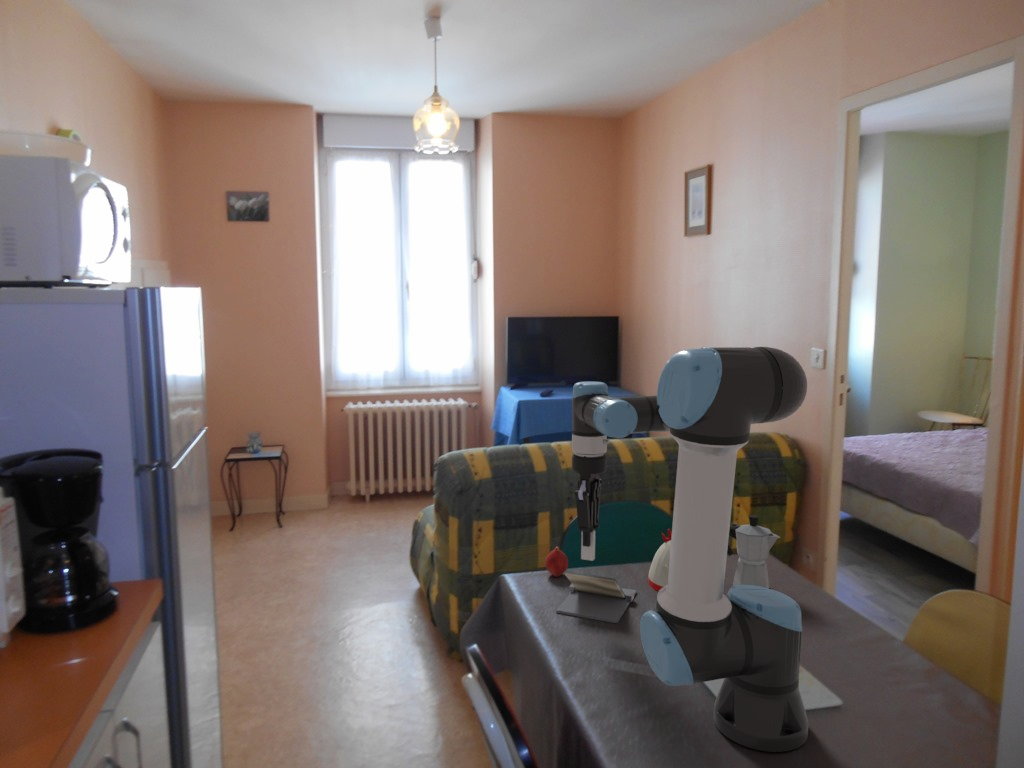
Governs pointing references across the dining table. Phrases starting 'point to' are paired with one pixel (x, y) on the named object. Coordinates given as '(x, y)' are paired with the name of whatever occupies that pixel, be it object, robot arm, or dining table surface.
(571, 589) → the hinge blocks
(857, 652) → the dining table surface
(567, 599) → the base plate
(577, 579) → the flap
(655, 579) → the kitchen timer
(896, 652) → the dining table surface
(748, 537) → the coffee maker
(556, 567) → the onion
